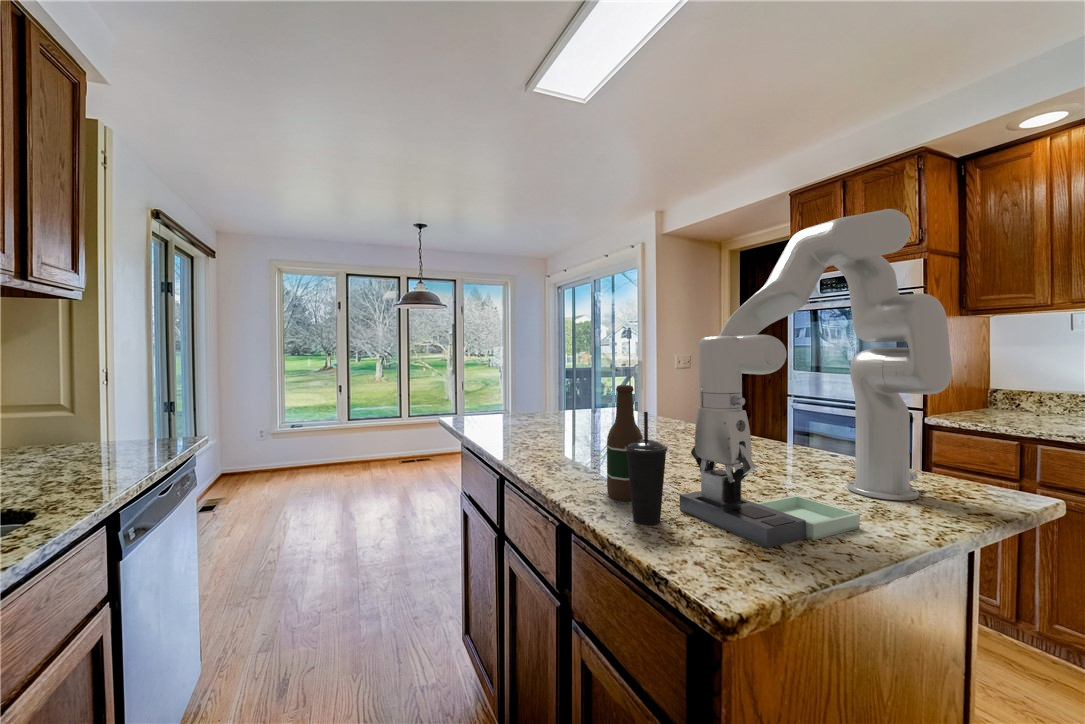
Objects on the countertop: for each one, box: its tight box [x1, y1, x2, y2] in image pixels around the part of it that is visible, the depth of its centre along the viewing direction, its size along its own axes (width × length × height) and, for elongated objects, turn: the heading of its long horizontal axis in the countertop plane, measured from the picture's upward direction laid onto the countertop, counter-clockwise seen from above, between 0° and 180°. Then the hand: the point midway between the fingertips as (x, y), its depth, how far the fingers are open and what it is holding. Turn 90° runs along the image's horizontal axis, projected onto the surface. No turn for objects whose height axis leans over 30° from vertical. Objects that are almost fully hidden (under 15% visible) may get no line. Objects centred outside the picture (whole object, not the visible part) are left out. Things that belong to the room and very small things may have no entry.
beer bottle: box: [606, 384, 644, 502], centre depth 99 cm, size 8×8×24 cm
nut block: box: [700, 468, 743, 508], centre depth 87 cm, size 5×5×8 cm
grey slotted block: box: [679, 490, 807, 549], centre depth 83 cm, size 9×20×3 cm, turn 24°
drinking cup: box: [625, 411, 669, 526], centre depth 84 cm, size 8×8×20 cm
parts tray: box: [756, 494, 861, 541], centre depth 83 cm, size 12×12×2 cm
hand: (721, 497), depth 87 cm, fingers closed on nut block, 5 cm apart
